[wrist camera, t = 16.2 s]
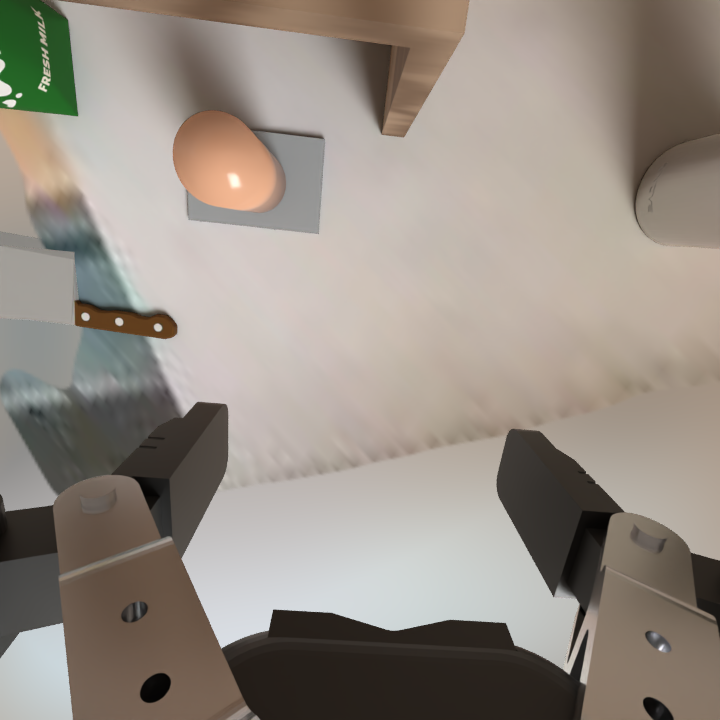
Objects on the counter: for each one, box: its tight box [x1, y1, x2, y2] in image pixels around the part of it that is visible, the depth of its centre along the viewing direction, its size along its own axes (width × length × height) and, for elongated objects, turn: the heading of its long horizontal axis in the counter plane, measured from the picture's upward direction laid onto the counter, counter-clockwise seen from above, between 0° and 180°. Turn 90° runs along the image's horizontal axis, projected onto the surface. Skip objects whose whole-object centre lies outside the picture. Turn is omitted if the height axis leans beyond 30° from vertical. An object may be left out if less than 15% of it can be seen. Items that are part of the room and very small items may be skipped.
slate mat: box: [188, 130, 325, 234], centre depth 36 cm, size 12×8×1 cm, turn 84°
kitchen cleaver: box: [0, 231, 177, 339], centre depth 39 cm, size 24×1×10 cm
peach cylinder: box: [173, 110, 286, 213], centre depth 30 cm, size 5×5×12 cm
